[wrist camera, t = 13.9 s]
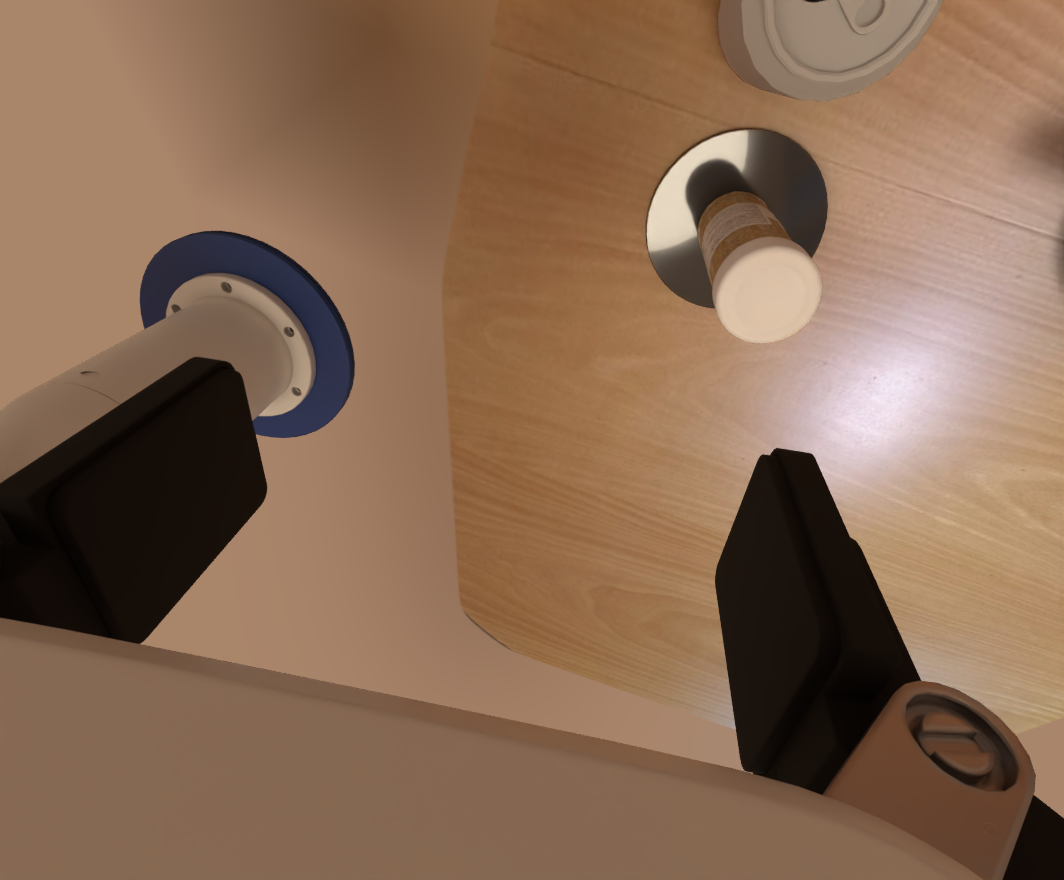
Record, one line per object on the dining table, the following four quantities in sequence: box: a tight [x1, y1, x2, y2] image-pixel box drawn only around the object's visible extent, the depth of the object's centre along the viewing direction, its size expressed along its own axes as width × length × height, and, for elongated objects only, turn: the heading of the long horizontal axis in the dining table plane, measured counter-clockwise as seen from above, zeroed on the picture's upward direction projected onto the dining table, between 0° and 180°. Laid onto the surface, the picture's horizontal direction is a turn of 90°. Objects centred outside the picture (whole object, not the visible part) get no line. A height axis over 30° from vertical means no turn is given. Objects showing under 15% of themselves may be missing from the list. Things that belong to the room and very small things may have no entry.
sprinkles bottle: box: [697, 191, 823, 344], centre depth 31 cm, size 5×5×14 cm
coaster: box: [646, 128, 828, 308], centre depth 37 cm, size 11×11×1 cm
